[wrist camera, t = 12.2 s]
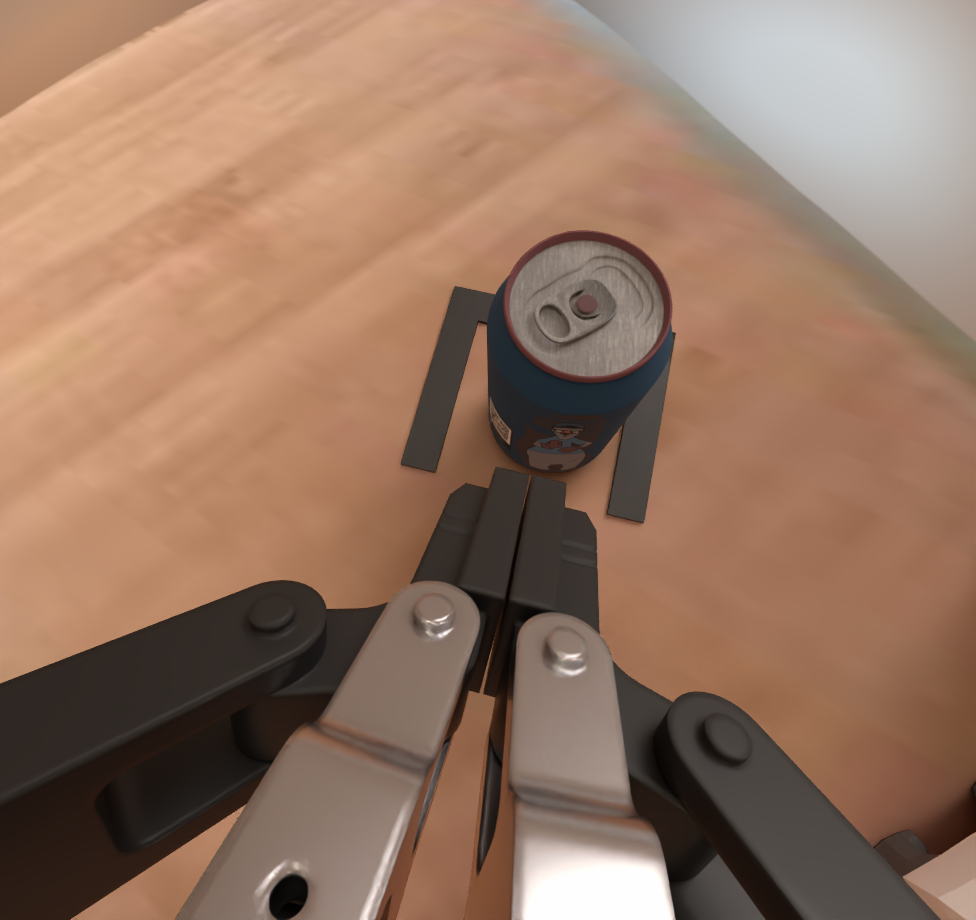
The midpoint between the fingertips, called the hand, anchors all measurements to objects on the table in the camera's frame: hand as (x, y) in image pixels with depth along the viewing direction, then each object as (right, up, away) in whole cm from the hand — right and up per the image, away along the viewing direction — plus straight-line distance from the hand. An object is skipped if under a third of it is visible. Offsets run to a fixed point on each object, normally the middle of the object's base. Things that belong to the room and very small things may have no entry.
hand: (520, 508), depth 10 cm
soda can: (+3, +3, +18) cm, 18 cm away
